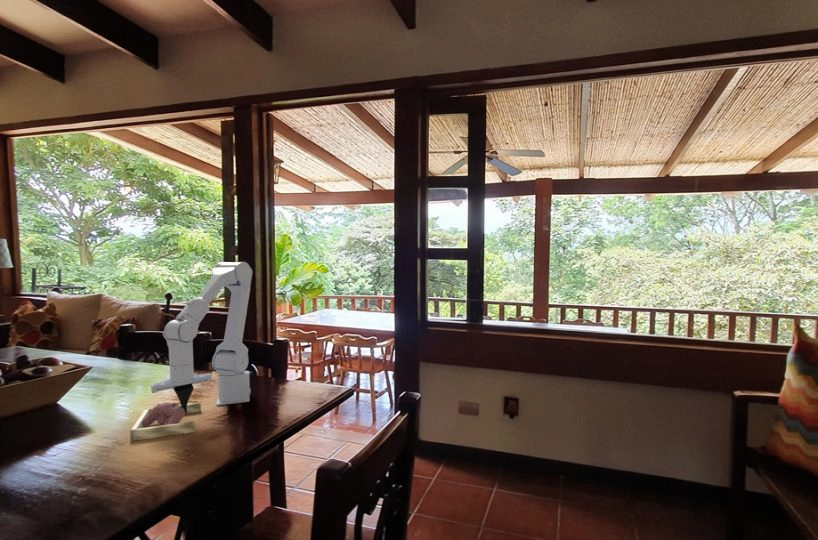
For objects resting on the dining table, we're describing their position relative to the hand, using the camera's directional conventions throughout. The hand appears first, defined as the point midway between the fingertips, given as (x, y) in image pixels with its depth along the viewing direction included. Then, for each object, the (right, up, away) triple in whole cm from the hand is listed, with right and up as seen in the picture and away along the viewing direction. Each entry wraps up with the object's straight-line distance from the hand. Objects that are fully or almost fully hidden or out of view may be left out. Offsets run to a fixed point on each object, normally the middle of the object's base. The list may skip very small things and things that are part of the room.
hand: (183, 412), depth 112 cm
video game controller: (-4, -3, -2) cm, 5 cm away
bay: (-3, -3, -1) cm, 5 cm away
